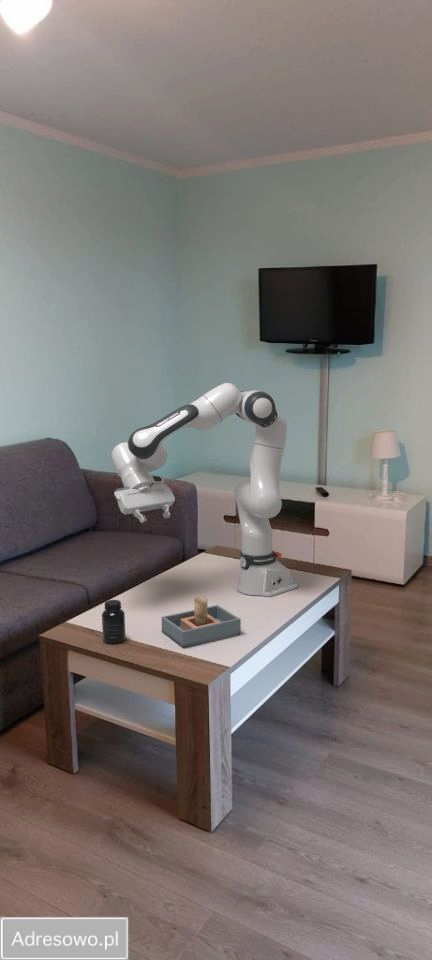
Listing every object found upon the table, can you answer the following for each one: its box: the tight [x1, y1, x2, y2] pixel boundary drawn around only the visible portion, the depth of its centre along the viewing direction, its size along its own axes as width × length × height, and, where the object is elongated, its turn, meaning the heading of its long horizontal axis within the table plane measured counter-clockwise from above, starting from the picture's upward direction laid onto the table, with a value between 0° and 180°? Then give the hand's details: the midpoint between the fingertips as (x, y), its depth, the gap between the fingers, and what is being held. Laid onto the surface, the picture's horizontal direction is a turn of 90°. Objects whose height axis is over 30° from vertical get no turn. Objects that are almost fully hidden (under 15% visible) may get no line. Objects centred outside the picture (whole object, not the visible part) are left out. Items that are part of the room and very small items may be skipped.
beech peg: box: [193, 596, 208, 626], centre depth 222 cm, size 4×4×10 cm
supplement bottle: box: [101, 599, 126, 645], centre depth 218 cm, size 7×7×12 cm
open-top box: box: [161, 604, 242, 649], centre depth 223 cm, size 20×14×5 cm
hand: (156, 519), depth 237 cm, fingers open, 8 cm apart
